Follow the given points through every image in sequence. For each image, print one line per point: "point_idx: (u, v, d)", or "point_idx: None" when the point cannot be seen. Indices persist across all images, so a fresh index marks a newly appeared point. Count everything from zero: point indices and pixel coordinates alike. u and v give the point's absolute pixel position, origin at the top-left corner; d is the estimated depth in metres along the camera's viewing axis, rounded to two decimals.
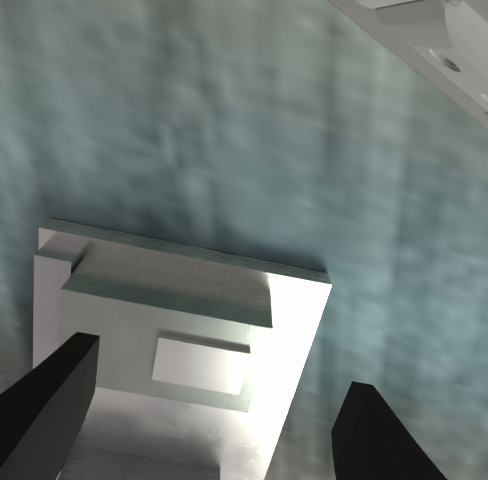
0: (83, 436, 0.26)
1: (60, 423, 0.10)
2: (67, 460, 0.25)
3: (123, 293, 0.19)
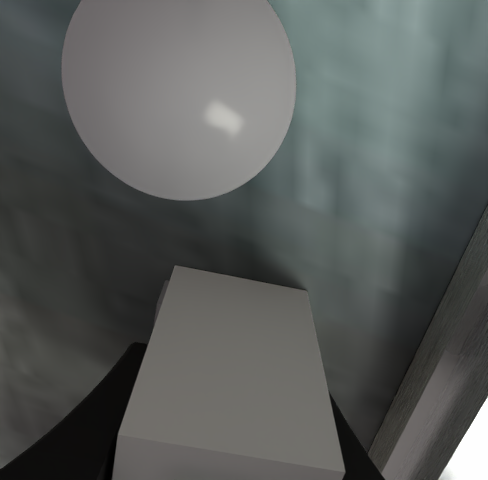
0: None
1: None
2: None
3: None
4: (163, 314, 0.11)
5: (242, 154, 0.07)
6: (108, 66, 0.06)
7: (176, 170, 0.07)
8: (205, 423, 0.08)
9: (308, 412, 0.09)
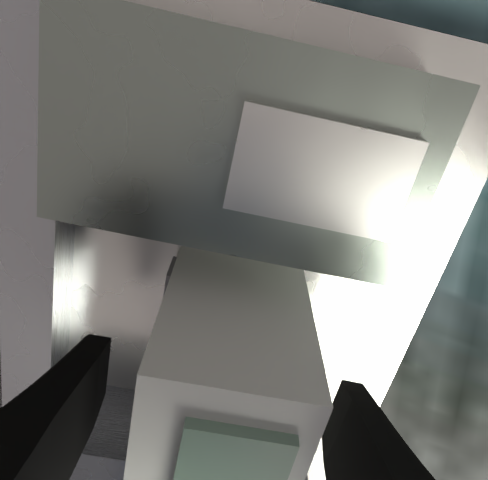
0: None
1: (73, 426, 0.10)
2: None
3: None
4: (172, 283, 0.12)
5: None
6: None
7: None
8: (211, 367, 0.09)
9: (302, 362, 0.10)
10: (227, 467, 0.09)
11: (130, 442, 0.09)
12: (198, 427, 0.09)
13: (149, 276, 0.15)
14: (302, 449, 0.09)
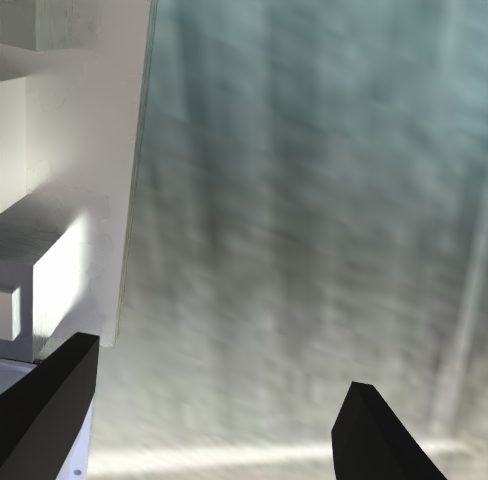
0: None
1: (59, 423, 0.10)
2: None
3: None
4: None
5: None
6: None
7: None
8: None
9: None
10: None
11: None
12: None
13: None
14: None
